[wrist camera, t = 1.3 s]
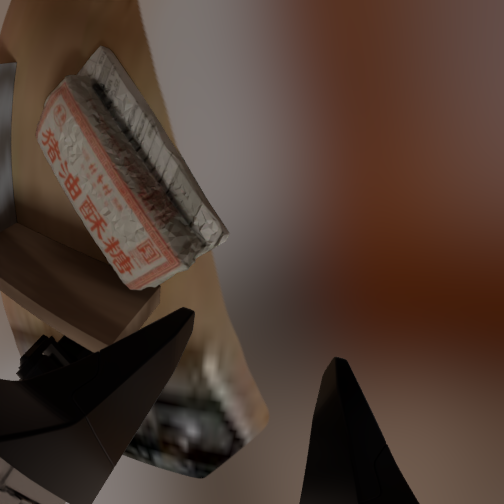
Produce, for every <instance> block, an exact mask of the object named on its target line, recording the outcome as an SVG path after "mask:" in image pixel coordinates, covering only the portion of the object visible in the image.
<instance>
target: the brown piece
mask: <svg viewBox="0 0 504 504" xmlns="http://www.w3.org/2000/svg"><path fill="white" fill-rule="evenodd" d="M16 64H17V62H16V63H6V64H0V290H1V291H2V292H3V293H5V294H6V295H7V296H9V297H10V298H11V299H12V300H14V301H15V302H16V303H18V304H19V305H21V306H22V307H23V308H25V309H26V310H27V311H29V312H30V313H32V314H33V315H35V316H36V317H37V318H39V319H40V320H42V321H43V322H45V323H46V324H48V325H49V326H51V327H52V328H54V329H55V330H57V331H59V332H60V333H62V334H63V335H65V336H67V337H68V338H70V339H71V340H73V341H75V342H76V343H78V344H80V345H81V346H83V347H85V348H87V349H88V350H90V351H92V352H94V353H95V352H97V351H99V352H100V350H101V349H103V348H105V347H107V346H109V345H111V344H113V343H115V342H117V341H118V340H120V339H122V338H124V337H126V336H128V335H130V334H132V333H134V332H136V331H138V330H139V329H140V327H141V326H142V325H143V324H144V322H145V321H146V320H147V319H148V317H149V316H150V315H151V313H152V312H153V311H154V310H155V308H156V307H157V306H158V305H159V303H160V286H159V285H158V286H156V287H146V288H144V289H142V290H130V289H129V288H128V287H127V286H126V285H125V284H124V283H123V282H122V280H121V279H120V278H119V276H118V274H117V273H116V271H115V270H114V269H113V267H112V266H110V265H107V264H105V263H103V262H100V261H98V260H96V259H93V258H91V257H89V256H87V255H84V254H82V253H80V252H78V251H76V250H73V249H71V248H69V247H67V246H65V245H62V244H60V243H58V242H56V241H54V240H52V239H50V238H48V237H45V236H43V235H41V234H39V233H37V232H35V231H33V230H31V229H29V228H27V227H25V226H23V225H21V224H19V223H17V220H16V212H15V204H14V195H13V183H12V167H11V115H12V99H13V88H14V79H15V71H16Z"/></svg>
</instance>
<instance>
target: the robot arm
mask: <svg viewBox="0 0 504 504" xmlns="http://www.w3.org/2000/svg"><path fill="white" fill-rule="evenodd" d="M194 317H195V312H194V311H193V310H191V309H188V308H185V307H182V308H180V309H178V310H176V311H174V312H172V313H170V314H168V315H166V316H165V317H163V318H161V319H159V320H157V321H155V322H153V323H151V324H149V325H147V326H145V327H144V328H142V329H140V330H138V331H136V332H134V333H132V334H130V335H128V336H126V337H124V338H122V339H120V340H118V341H117V342H115V343H113V344H111V345H109V346H107V347H105V348H103V349H101V350H100V352H99V351H97V352H95V353H94V352H92V351H90V350H88V349H87V348H85V347H83V346H81V345H80V344H78V343H76V342H75V341H73V340H71V339H70V338H68V337H67V336H65V335H64V336H63V337H62V338H61V339H60V340H59V341H58V342H56V341H55V339H54V337H53V336H51V337H50V338H48V337H47V336H45V335H42V336H41V337H40V338H39V339H38V340H37V342H36V343H35V344H34V345H33V346H32V347H31V348H30V349H29V350H28V351H27V352H26V353H25V354H24V355H23V356H22V357H21V358H20V367H19V369H20V370H19V371H18V372H17V373H16V374H17V375H18V376H19V377H20V378H21V379H20V380H19V381H10V380H3V379H0V504H65V502H68V503H70V504H92V503H93V501H94V499H95V498H96V496H97V495H98V493H99V491H100V490H101V488H102V487H103V485H104V483H105V481H106V480H107V479H108V477H109V475H110V474H111V472H112V471H113V469H114V467H115V466H116V464H117V462H118V461H119V459H120V458H121V456H122V454H123V453H124V451H125V450H126V448H127V446H128V445H129V443H130V442H131V440H132V438H133V437H134V435H135V434H136V432H137V430H138V429H139V427H140V426H141V424H142V422H143V421H144V419H145V418H146V416H147V414H148V413H149V411H150V410H151V408H152V406H153V405H154V403H155V402H156V400H157V398H158V397H159V395H160V394H161V392H162V390H163V389H164V387H165V386H166V384H167V382H168V381H169V379H170V378H171V376H172V374H173V373H174V371H175V369H176V367H177V364H178V362H179V360H180V358H181V356H182V354H183V351H184V349H185V347H186V345H187V343H188V340H189V338H190V336H191V334H192V331H193V325H194ZM42 353H44V354H45V355H43V354H42ZM299 504H419V502H418V501H417V499H416V497H415V495H414V494H413V492H412V490H411V489H410V487H409V485H408V484H407V482H406V480H405V478H404V477H403V475H402V473H401V471H400V470H399V468H398V466H397V464H396V462H395V460H394V458H393V456H392V454H391V452H390V449H389V447H388V445H387V444H386V441H385V438H384V436H383V435H382V432H381V430H380V428H379V426H378V423H377V421H376V419H375V417H374V415H373V413H372V411H371V409H370V407H369V404H368V402H367V400H366V398H365V396H364V394H363V392H362V390H361V388H360V386H359V384H358V382H357V380H356V378H355V376H354V374H353V372H352V370H351V368H350V365H349V364H348V362H347V360H345V359H343V358H339V357H334V358H333V359H332V361H331V363H330V364H329V366H328V367H327V369H326V370H325V372H324V374H323V377H322V381H321V385H320V390H319V394H318V398H317V403H316V407H315V411H314V415H313V420H312V428H311V435H310V444H309V450H308V456H307V463H306V469H305V475H304V481H303V487H302V492H301V498H300V503H299Z"/></svg>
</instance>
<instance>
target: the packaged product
mask: <svg viewBox="0 0 504 504" xmlns="http://www.w3.org/2000/svg"><path fill="white" fill-rule="evenodd" d="M36 138H37V140H38V143H39V145H40V147H41V149H42V150H43V153H44V155H45V157H46V159H47V161H48V162H49V164H50V166H51V168H52V170H53V172H54V174H55V176H56V177H57V179H58V181H59V183H60V185H61V186H62V188H63V190H64V192H65V194H66V195H67V197H68V199H69V200H70V202H71V204H72V205H73V207H74V209H75V211H76V212H77V214H78V215H79V217H80V218H81V219H82V221H83V223H84V225H85V227H86V228H87V230H88V231H89V233H90V235H91V236H92V237H93V239H94V241H95V242H96V244H97V245H98V246H99V248H100V249H101V251H102V252H103V254H104V255H105V257H106V258H107V260H108V262H109V263H110V264H111V265H112V267H113V269H114V270H115V271H116V273H117V274H118V276H119V278H120V279H121V280H122V282H123V283H124V284H125V285H126V286H127V287H128V288H129V289H130V290H142V289H144V288H146V287H156V286H158V285H159V284H161V283H163V282H164V281H166V280H167V279H169V278H171V277H172V276H173V275H174V274H176V273H178V272H182V271H185V270H188V269H189V267H190V266H191V265H192V264H193V263H194V262H195V259H196V258H197V257H199V256H200V255H202V254H204V253H206V252H208V251H210V250H212V249H213V248H215V247H217V246H219V245H220V244H222V243H224V242H226V240H227V238H228V236H229V235H230V232H229V231H228V230H227V228H226V226H225V225H224V224H223V222H222V221H221V219H220V218H219V216H218V215H217V213H216V212H215V210H214V209H213V207H212V206H211V204H210V203H209V201H208V199H207V198H206V196H205V194H204V193H203V191H202V189H201V188H200V186H199V184H198V182H197V181H196V179H195V177H194V176H193V174H192V172H191V170H190V169H189V167H188V165H187V164H186V162H185V160H184V158H183V157H182V155H181V153H180V152H179V153H178V151H179V150H178V151H177V150H176V148H175V147H174V145H173V143H172V142H171V140H170V139H169V137H168V135H167V134H166V132H165V130H164V129H163V127H162V125H161V124H160V122H159V121H158V119H157V118H156V116H155V114H154V113H153V111H152V110H151V108H150V107H149V105H148V104H147V102H146V101H145V99H144V97H143V96H142V94H141V93H140V91H139V90H138V88H137V87H136V85H135V84H134V83H133V81H132V80H131V78H130V77H129V75H128V74H127V72H126V71H125V69H124V68H123V67H122V65H121V64H120V62H119V61H118V59H117V58H116V56H115V55H114V54H113V52H112V51H111V50H110V49H109V48H106V47H103V46H100V47H99V48H98V49H97V50H96V51H95V52H94V54H93V55H92V56H91V57H90V58H89V60H88V61H87V62H86V64H85V65H84V66H83V67H82V69H81V70H80V71H79V73H78V74H77V75H68V76H65V79H64V80H63V81H62V82H61V83H60V84H59V85H58V86H57V87H56V88H55V89H54V91H53V92H52V93H51V94H50V95H49V96H48V98H47V100H46V102H45V104H44V110H43V112H42V115H41V118H40V121H39V123H38V124H37V129H36Z"/></svg>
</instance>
